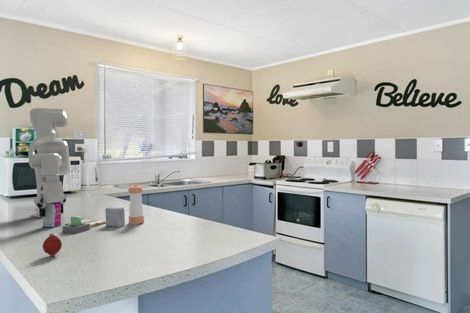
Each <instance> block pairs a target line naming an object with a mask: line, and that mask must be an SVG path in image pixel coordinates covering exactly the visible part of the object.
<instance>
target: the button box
mask: <svg viewBox="0 0 470 313" xmlns="http://www.w3.org/2000/svg"><path fill="white" fill-rule="evenodd" d="M61 226H62V227H61V229H62V233H69V234H78V233H82V232H85V231H89V230H90V229H91V228H90V224H86V223H82V225H80V226H77V227H74V226H71V224H69V225H61Z"/></svg>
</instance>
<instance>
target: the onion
mask: <svg viewBox="0 0 470 313" xmlns="http://www.w3.org/2000/svg"><path fill="white" fill-rule="evenodd" d="M61 240H62V239H60V238H59V236H57V235H55V234H54V233H49V236H48V237H46V239H45V240H44V241H43V243H42V250H43V252H44V253H45V254H47V255H49V256H50V257H55V256H56V254H58V253H59V252H60V250H61V248H62V247H63V246H62V245H63V244H62V241H61Z"/></svg>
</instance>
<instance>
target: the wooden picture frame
mask: <svg viewBox="0 0 470 313" xmlns="http://www.w3.org/2000/svg"><path fill="white" fill-rule="evenodd" d="M81 223H86V224H90V229H91V228H94V227H98V226H101V225H106V220H104V221H103V220H95V219H81ZM69 224H71V222H68V223H64V226H66V225H69Z"/></svg>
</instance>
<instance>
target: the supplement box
mask: <svg viewBox="0 0 470 313" xmlns="http://www.w3.org/2000/svg"><path fill="white" fill-rule="evenodd" d="M44 208H45V211H46V216H45V217H42V228H45V229H47V228H48V229H53V228H56V227H60V226H62V213H61V202H57V203H50V204H46V205H45V207H44Z"/></svg>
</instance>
